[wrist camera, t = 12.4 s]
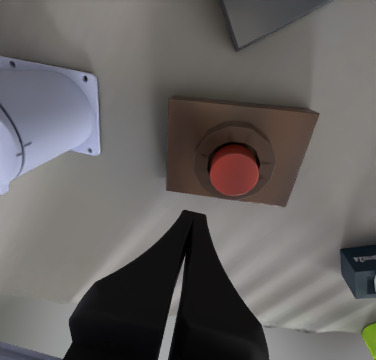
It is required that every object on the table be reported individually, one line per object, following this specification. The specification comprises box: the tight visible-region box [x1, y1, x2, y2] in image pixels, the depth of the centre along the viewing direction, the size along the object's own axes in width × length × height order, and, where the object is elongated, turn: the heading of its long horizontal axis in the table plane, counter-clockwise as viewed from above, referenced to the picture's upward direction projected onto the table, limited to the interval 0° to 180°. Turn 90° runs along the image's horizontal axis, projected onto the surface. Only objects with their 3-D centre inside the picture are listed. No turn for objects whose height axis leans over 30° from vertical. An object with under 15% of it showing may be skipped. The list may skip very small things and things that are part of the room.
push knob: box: [210, 144, 259, 196], centre depth 17 cm, size 4×4×2 cm
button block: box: [166, 96, 319, 207], centre depth 19 cm, size 12×9×4 cm
